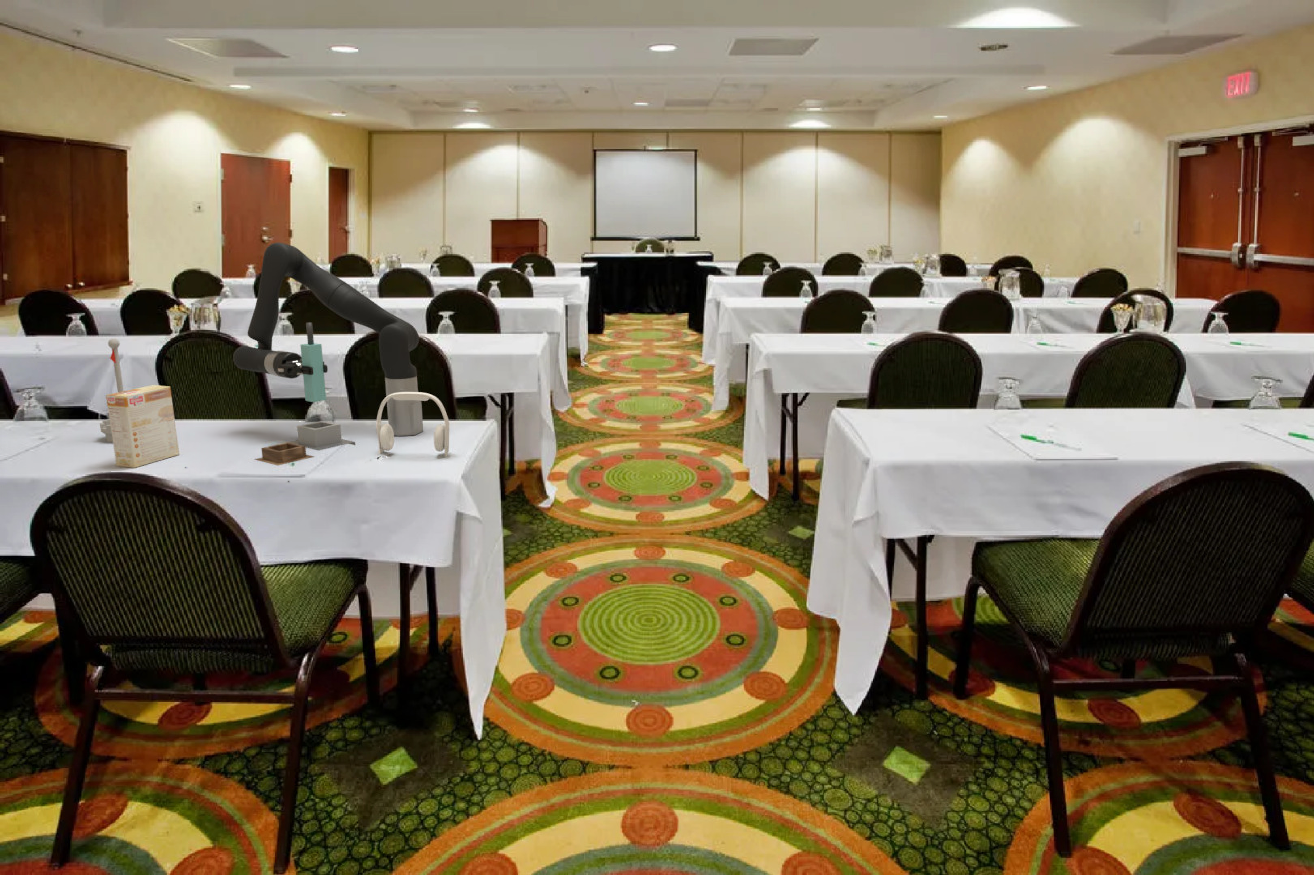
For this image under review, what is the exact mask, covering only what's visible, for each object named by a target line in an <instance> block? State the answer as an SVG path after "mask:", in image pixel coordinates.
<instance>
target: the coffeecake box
mask: <svg viewBox="0 0 1314 875" xmlns="http://www.w3.org/2000/svg"><path fill="white" fill-rule="evenodd" d="M105 398H106V405H107V411H108V417H109V419H108V420H110V425H111V432H112V438H113V442H112V444H113V449H114V457H115V463H116V464H115V465H116V466H117V467H122V468H123V467H124V468H130V469H131V468H132V469H133V468H134V469H135V468H138V467H142V466H145V465H148V464H152V463H156V462H159V461H162V460H165V459H168V458H173V457H176V456H179V455H180V448H179V442H178V435H177V434H178V433H177V428H176V418H175V412H174V405H173V398H172V390H171V386H168V385H167V386H166V385H159V384H153V385H152V384H151V385H147V386H142V387H138V388H132V389H129V390H123V392H118V391H117V392H114V393H108V394H106V395H105Z"/></svg>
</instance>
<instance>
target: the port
mask: <svg viewBox="0 0 1314 875" xmlns="http://www.w3.org/2000/svg"><path fill="white" fill-rule="evenodd" d="M296 429H297V430H296V431H297V439H296V440H295V439H294V440H291V441H287V442H289V443H294V444H298V445H302V446H305V448H306V449H311V450H314V451H322V450H323V451H324V450H327V449H332V448H336V447H339V446H340V447H341V446H343V445H344V446H345V445H348V444H349V445H352V446H353V445H354V446H356V441H354V440H353V441H352V440H347V439H343V438H342V431H341V430H342V429H341V424H340V423H335V422H330V421H326V420H321V421H315V422H310V423H306V424H301V425H297V426H296ZM287 442H285V443H287Z"/></svg>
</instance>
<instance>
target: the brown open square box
mask: <svg viewBox="0 0 1314 875" xmlns="http://www.w3.org/2000/svg"><path fill="white" fill-rule="evenodd" d="M289 442H290V441H287V443H286V442H283V443H279V444H275V445H270V446H264V447H261V455H262V456H261V457H259V458H255V459H254V461H255V460H256V461H258V462H259V461H260V462H263V463H265V464H271V465H274V466H282V465H285V464H286V465H287V464H290V463H295V462H298V461H299V462H300V461H303V460H306V459H311V458H314V457H315V456H313V455H309V454H307V448H306V447H305V446H302V445H298V444H294V443H289Z"/></svg>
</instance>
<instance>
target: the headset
mask: <svg viewBox="0 0 1314 875" xmlns="http://www.w3.org/2000/svg"><path fill="white" fill-rule="evenodd" d="M390 398H393V399H395V400H418V401H421V402H423V401H424V402H426V401H428V400H432V401H434V402H435V403H436V405H437V406H438V407H439V410H440V412H441V414H442V417H443V420H444V424H443V423H442V424H438V425H436V427H435V430H434V433H433V445H434V446H433V447H434V449H435V450H436V451H437V452H442V451H444V458H446V457H447V456H448V454H449V451H450V420H449V417H448V415H447V412H446V408H445V407H444V405H443V403H442V401H441V400H440V399H439V398H438V397H437V396H435V395H433V394H430V393H427V392H421V391H420V392H419V391H418V392H398V393H393V394H390V395H388V396H387V397H384V399H383V400H382V401H381V403H380V405H379V409H378V411H377V416H376V423H375V428H376V435H377V441H378V443H377V444H378V450H379V451H378V453H377V455H380V456H377V459H381V457H382V456H381V454H382V453H383V452H385V451H386V452H387V451H388V452H389V451H390V450H392V449H393V448H394V444H395V435H394V433H393V429H392V427H391V426H390V425H389V423H383V424H382V420H381V419H382V414H383V410H384V407H385V406H386V404H387V401H388V400H389V399H390Z"/></svg>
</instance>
